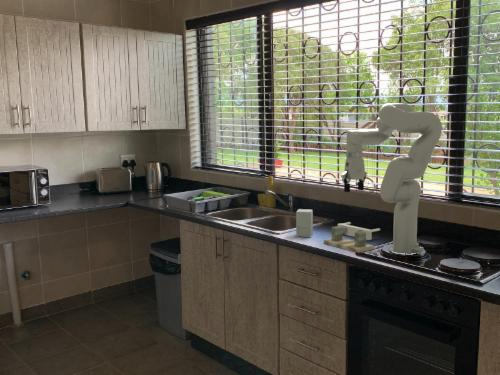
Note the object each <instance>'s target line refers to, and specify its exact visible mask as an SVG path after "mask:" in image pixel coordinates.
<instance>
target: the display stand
mask: <svg viewBox="0 0 500 375" xmlns="http://www.w3.org/2000/svg"><path fill="white" fill-rule="evenodd" d="M343 235H344V234H343V227H339V226H331V238H328V239H324V240H323V244H324V245H328V246H332V247H336V248H339V249H343V250H346V251H347V250H348V251H351V252H353V253H354V252H355V253H357V254H358V253H363V252H368V251H372V250H375V245H372V244H369V243H367V240H366V232H362V231H360V232H355V237H354V240H353V239H348V238H345V237H343Z"/></svg>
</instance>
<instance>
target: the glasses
mask: <svg viewBox="0 0 500 375" xmlns="http://www.w3.org/2000/svg"><path fill="white" fill-rule="evenodd" d="M351 224H352V222H350V221H348V222H344V223H337V226H339V227H343V234H342V235H344V236H345V235H346V236H347V237H348V236H349V237H354V238H355V232H360V231H362V232H366V241H370V240H371V241H372V239H373V238H372V233H374V232H378V231H381V228H379V227H378V228H375V229H374V228H373V229H369V228H364V227H359V226H355V225H351Z"/></svg>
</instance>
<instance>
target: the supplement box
mask: <svg viewBox="0 0 500 375" xmlns="http://www.w3.org/2000/svg"><path fill="white" fill-rule="evenodd" d="M313 212H314V210H313V209H308V208H307V209H303V208H298V209H297V211H295V217H296V218H295V220H296V222H295V224H296V225H295V226H296V228H295V230H296V237H297V236H301V238H311V237H313V235H314V229H313V228H314V225H313V224H314V223H313V222H314V221H313V220H314V218H313V217H314V214H313Z"/></svg>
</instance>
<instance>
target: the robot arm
mask: <svg viewBox="0 0 500 375" xmlns="http://www.w3.org/2000/svg"><path fill="white" fill-rule="evenodd" d="M442 130H443V128H442V122H441V119H440V117H439V116H437V114H435V113H433V112H429V111H414V109H413V107H412V106H411V105H409V104H408V103H402V102H399V103H398V102H393V103H392V102H391V103H390V102H389V103H385V104H383V105H382V106H381V108H380V109H379V111H378V117H377V119H376V128H369V129H368V128H367V129H365V128H363V129H349V130H347V131H346V154H345V157H346V158H345V162H344V172H343V173H342V174H340V178H341V180H342V183H343V185H344V186H343V187H344V188H343V191H344V192H345V193H350V192H351V180H353V181H355V180H358V182H357V190H358V191H364V189H365V184H364V183H365V182H366V179H367V175H368V172H366V168H365V166H366V165H365V160H364V158H363V152H364V151H363V148H364V146H365V147H366V146H378V145H381V144H383V143H384V142H387V140H389V139H390V138H391V136H392V133H393V132H394V131H396V132H399V133H402V134H420V135H419V136H418V137H417V138H416V139H415V140H414V141H413V142H412V143H411V146H410V150H409V152H408V154H406V155H403V156H397V157H394V158H392V159H391V160H390V161H389V163H388V164H387V167H386V170H385V173H384V174H383V177H382V181H381V184H380V187H379V188H380V189H379V194H380V198H381V199H382V201H384V202H385V203H388V204H393V203H396V204H395V207H394V209H393V210H394V211H393V232H392V233H393V235H392V236H393V239H392V246H391V247H389V249H388V251H389V250H391V251H393V252H397V253H405V254H406V253H407V254H411V253H418V252H420V253H419V254H421V253H423V251H424V247H423V246H419V244H420V242H418V241H417V240H418V239H417V237H418V236H417V235H418V234H417V233H418V213H419V212H418V211H419V210H418V209H419V203H420V202H419V201H420V197H421V195H422V194H421V193H422V188H421V185H420V183H419V181H417V180H418V179H420V178H422V177H423V176H424V175H425V172H426V170H427V168H428V165H429V162H430V161H431V158H432V155H433V152H434V150H435V149H436V146H437V144H438V142H439V140H440V139H441V136H442ZM416 179H417V180H416Z"/></svg>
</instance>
